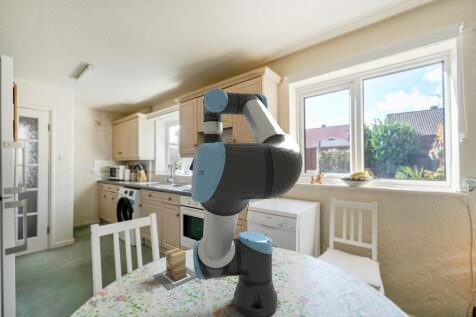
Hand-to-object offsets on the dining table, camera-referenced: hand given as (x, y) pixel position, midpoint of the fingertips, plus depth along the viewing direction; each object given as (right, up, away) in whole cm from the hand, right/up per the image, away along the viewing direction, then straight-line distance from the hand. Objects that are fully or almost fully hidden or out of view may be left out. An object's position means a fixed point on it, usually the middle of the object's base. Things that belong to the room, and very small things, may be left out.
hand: (213, 187), depth 85 cm
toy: (+16, -38, +23) cm, 47 cm away
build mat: (-17, -39, +7) cm, 43 cm away
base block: (-17, -38, +7) cm, 42 cm away
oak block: (-17, -34, +7) cm, 39 cm away
